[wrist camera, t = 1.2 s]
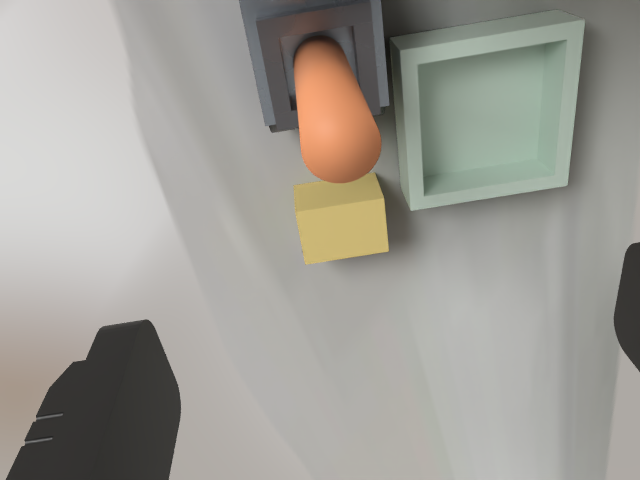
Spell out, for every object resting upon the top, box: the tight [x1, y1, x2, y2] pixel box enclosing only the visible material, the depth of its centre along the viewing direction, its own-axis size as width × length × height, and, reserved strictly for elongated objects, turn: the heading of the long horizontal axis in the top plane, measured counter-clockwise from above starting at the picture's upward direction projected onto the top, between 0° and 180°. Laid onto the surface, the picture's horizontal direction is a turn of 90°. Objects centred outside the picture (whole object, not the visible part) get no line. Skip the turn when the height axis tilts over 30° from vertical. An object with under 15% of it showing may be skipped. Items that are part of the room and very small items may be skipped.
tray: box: [389, 9, 585, 211], centre depth 30 cm, size 9×9×3 cm
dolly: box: [239, 0, 389, 133], centre depth 25 cm, size 9×6×8 cm, turn 9°
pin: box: [293, 35, 381, 183], centre depth 20 cm, size 2×2×10 cm
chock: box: [294, 173, 389, 265], centre depth 33 cm, size 4×5×4 cm
